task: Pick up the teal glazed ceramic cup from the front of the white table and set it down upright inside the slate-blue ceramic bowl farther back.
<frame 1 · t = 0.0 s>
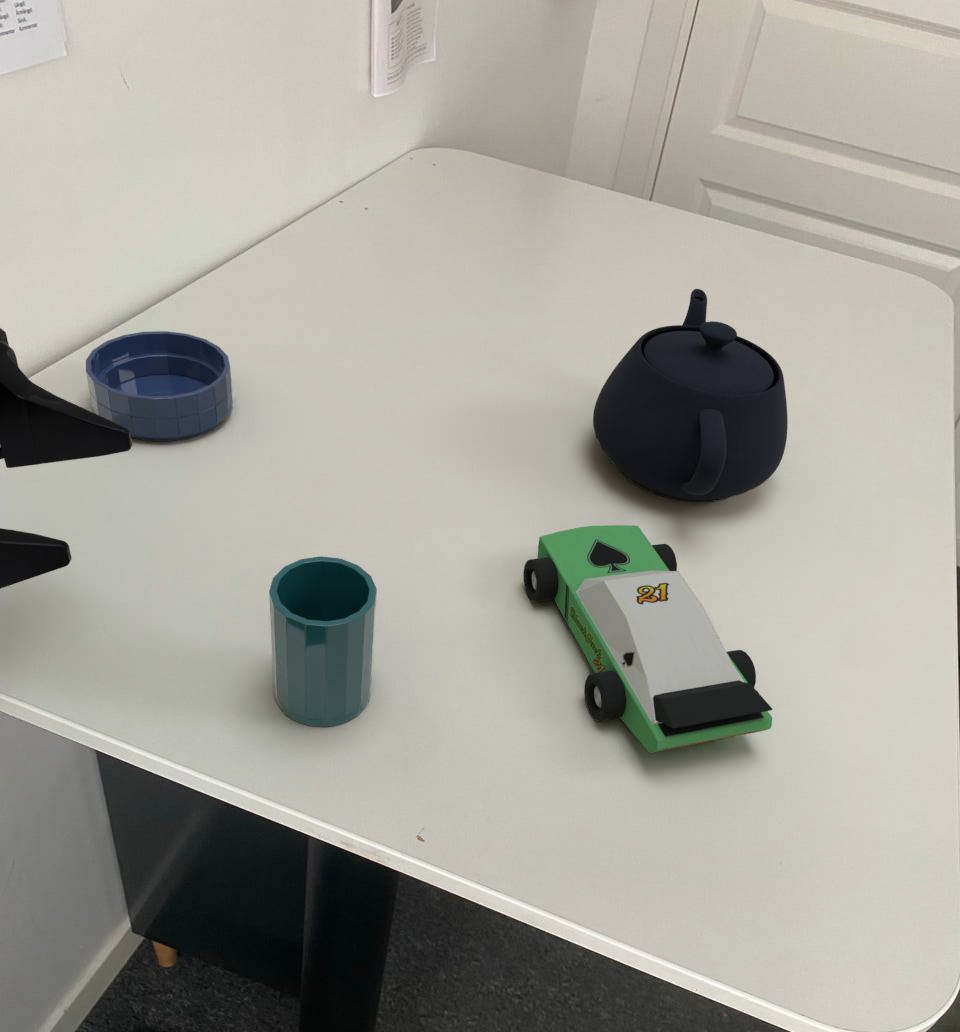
hand: (102, 492, 44), 14 cm above the table, tool horizontal, fingers open, 9 cm apart
teapot: (675, 461, 79), on the table
toy car: (633, 653, 62), on the table
cup: (322, 691, 56), on the table
bowl: (164, 408, 76), on the table
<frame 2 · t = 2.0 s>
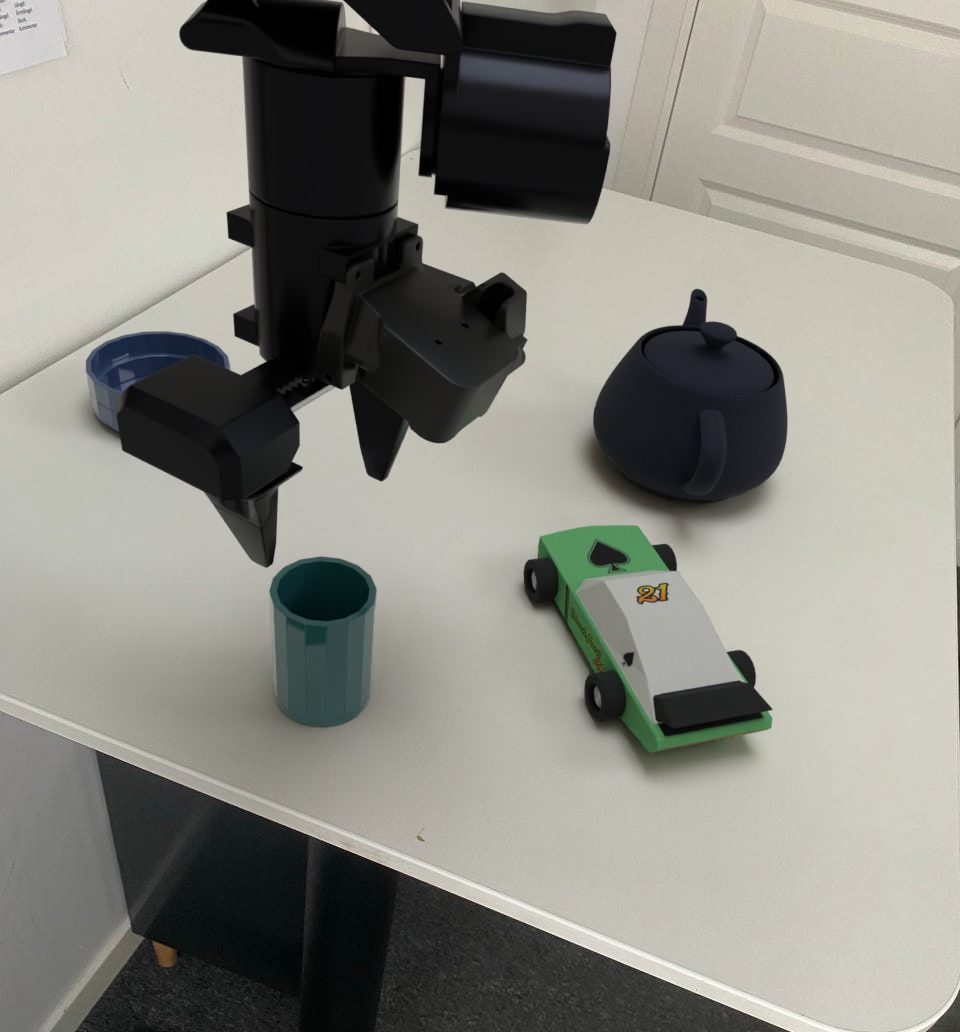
hand: (323, 517, 47), 13 cm above the table, tool pointing down, fingers open, 9 cm apart
nothing on the table moved.
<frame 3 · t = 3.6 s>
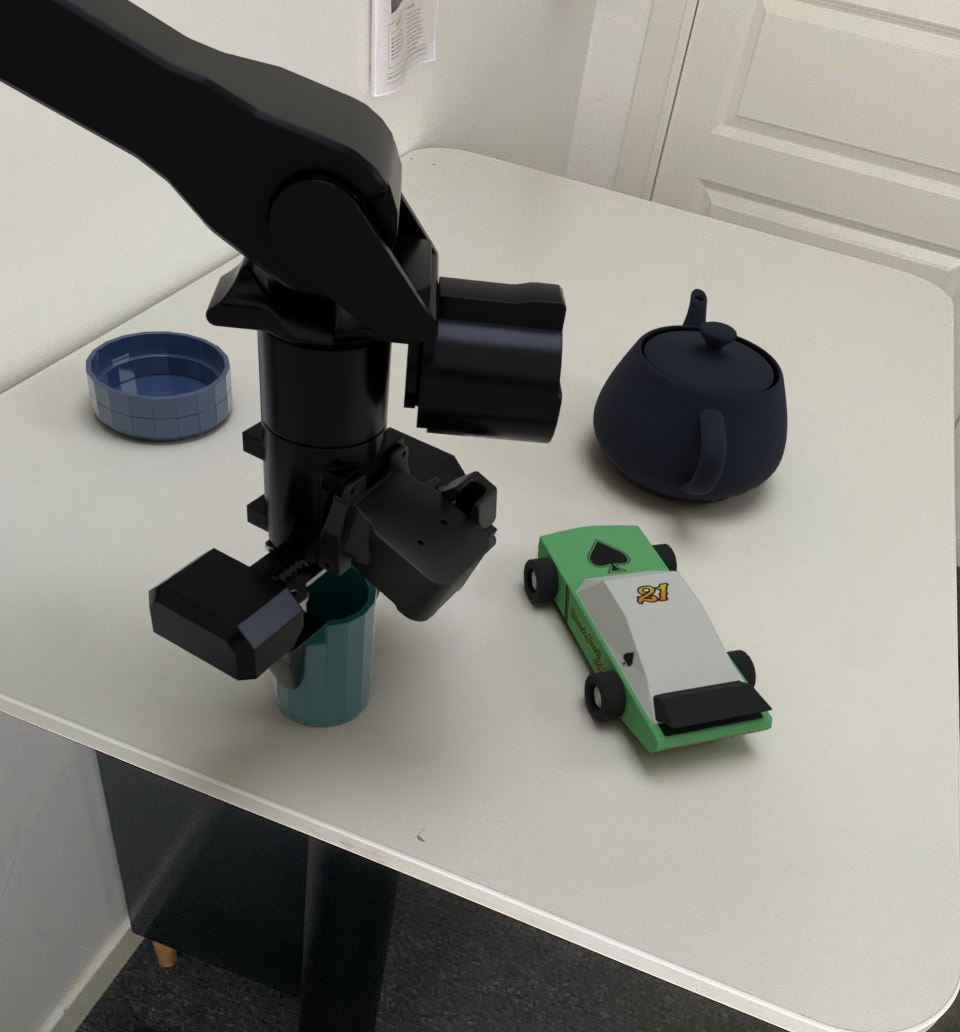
hand: (322, 655, 54), 3 cm above the table, tool pointing down, fingers closed on cup, 6 cm apart
cup: (322, 691, 56), on the table, touching gripper
everything else where it was.
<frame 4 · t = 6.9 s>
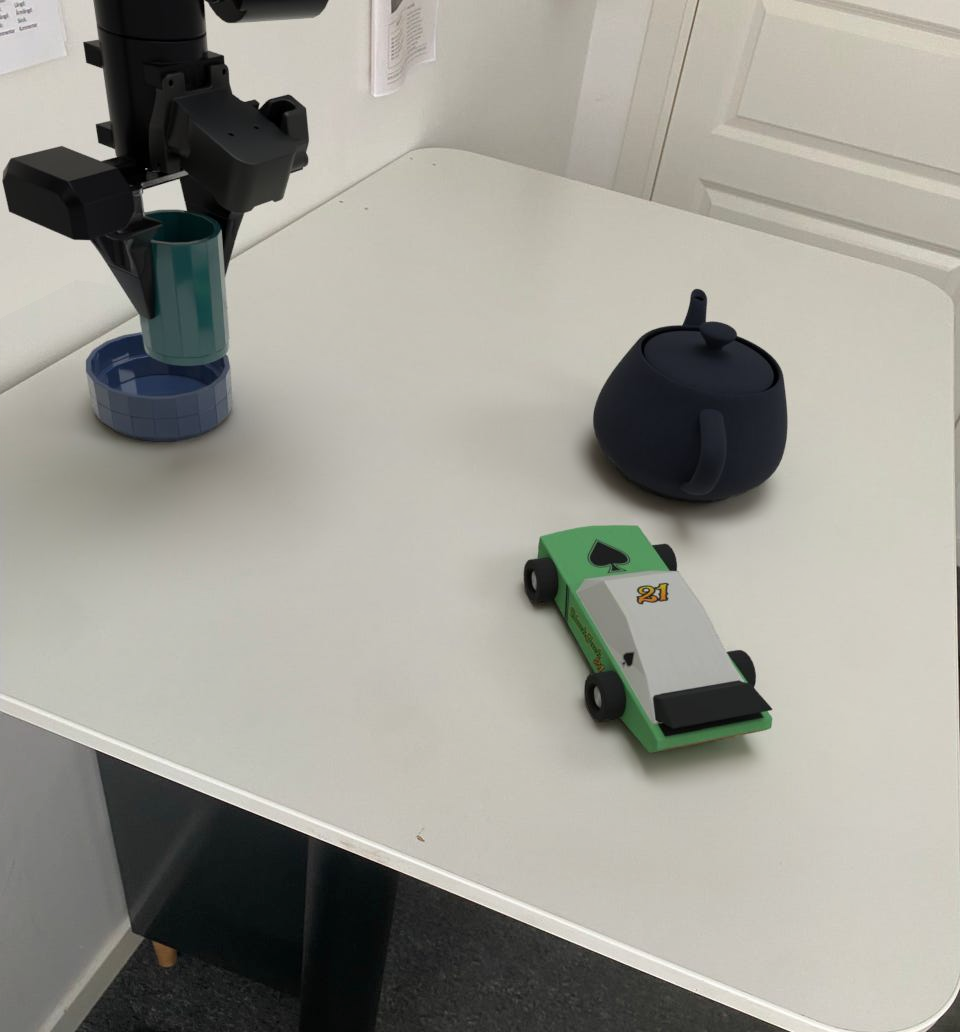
hand: (181, 302, 62), 13 cm above the table, tool pointing down, fingers closed on cup, 6 cm apart
cup: (186, 345, 64), point 10 cm above the table, touching gripper
everything else where it was.
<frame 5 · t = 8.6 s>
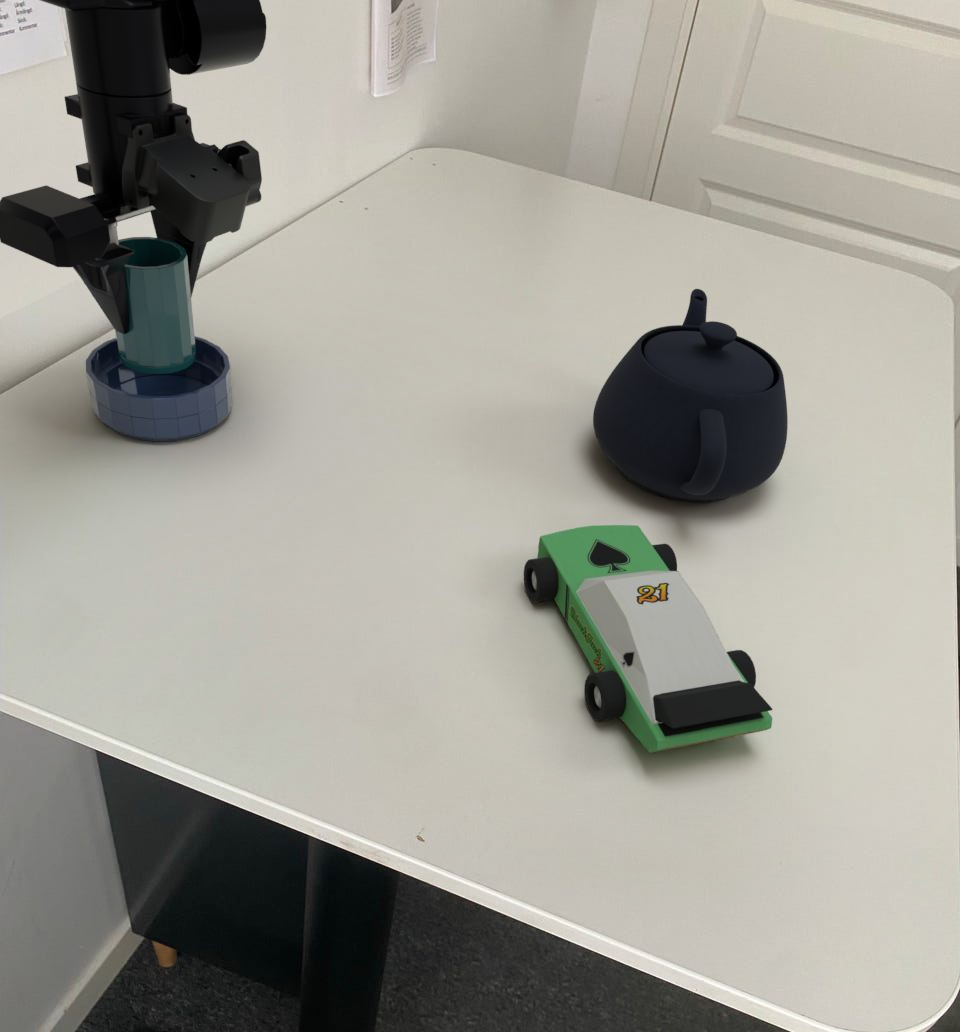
hand: (152, 318, 70), 8 cm above the table, tool pointing down, fingers closed on cup, 6 cm apart
cup: (158, 356, 72), point 5 cm above the table, touching gripper
everything else where it was.
when the fingers open (4 cm above the table, at t = 10.4 s): cup stays where it is, resting on bowl.
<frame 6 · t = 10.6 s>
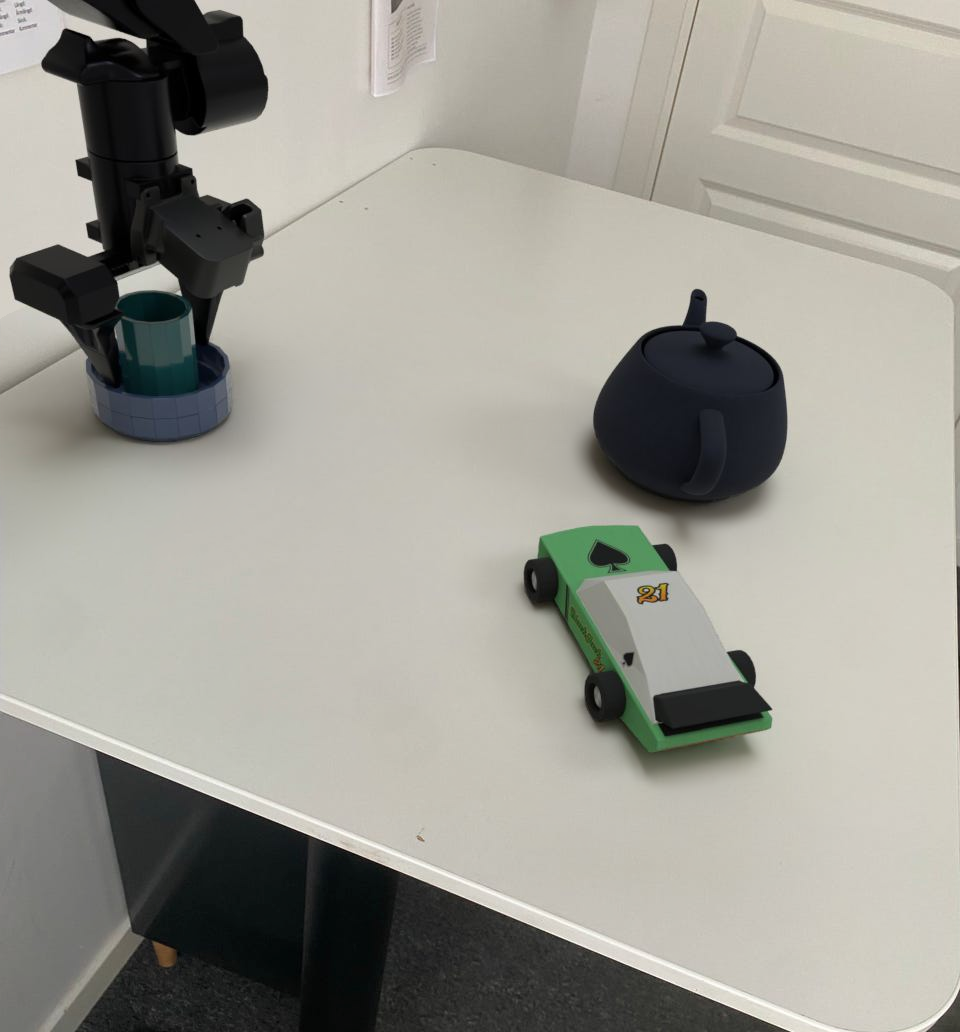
hand: (159, 364, 73), 4 cm above the table, tool pointing down, fingers open, 9 cm apart
cup: (163, 402, 75), point 1 cm above the table, touching bowl
everything else where it was.
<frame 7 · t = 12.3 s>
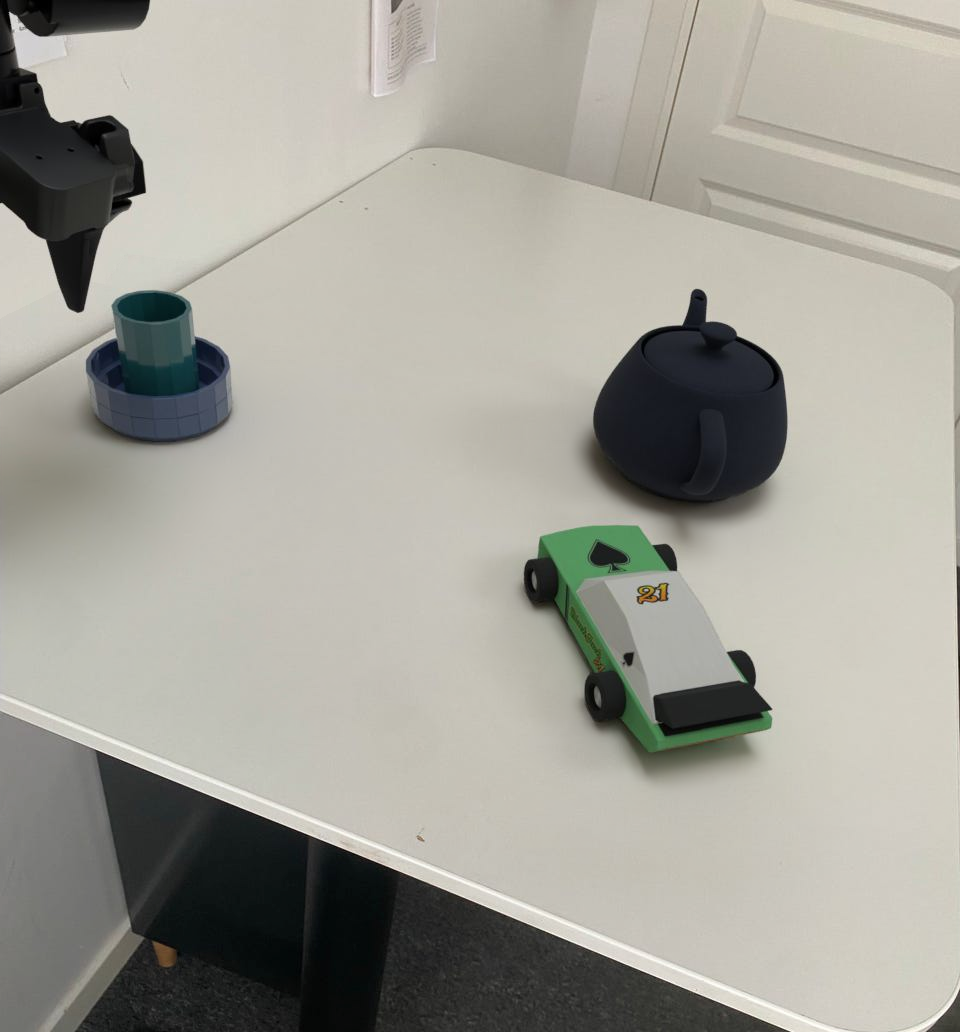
hand: (16, 333, 58), 12 cm above the table, tool pointing down, fingers open, 9 cm apart
nothing on the table moved.
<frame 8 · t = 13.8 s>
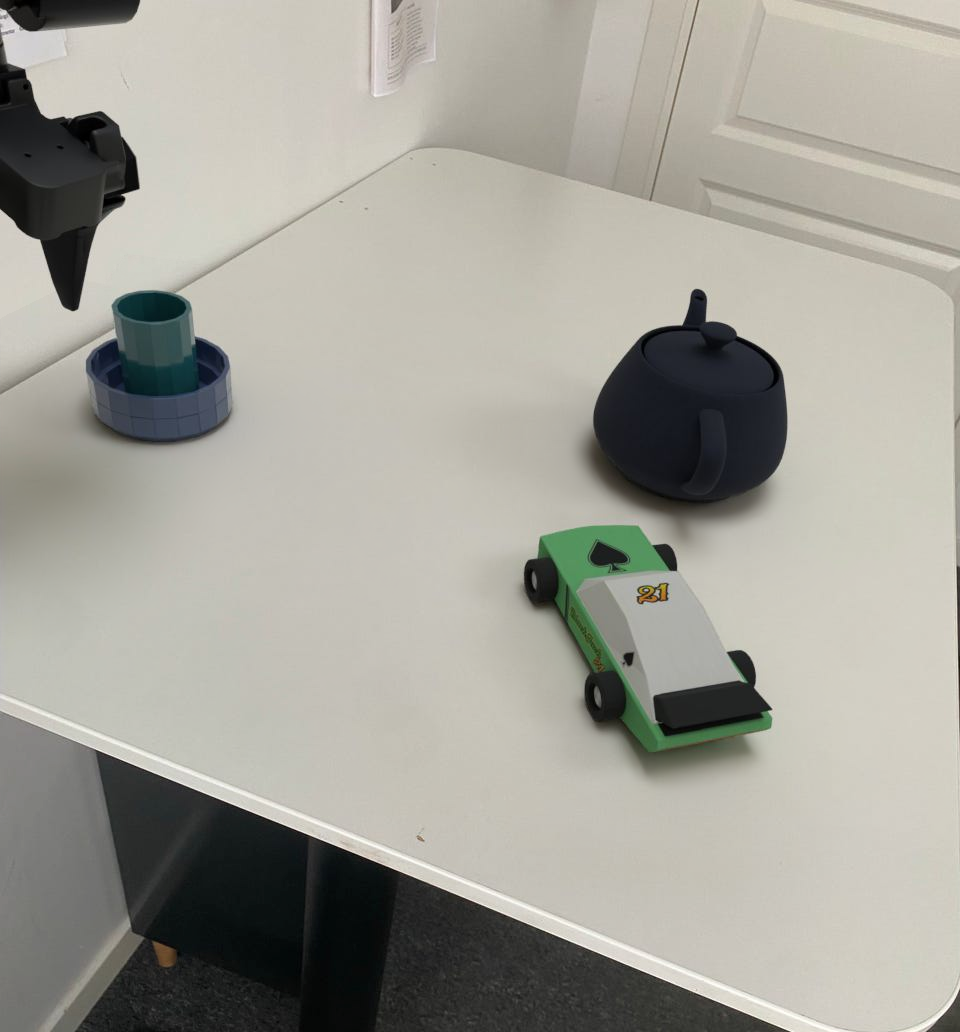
hand: (10, 332, 58), 12 cm above the table, tool pointing down, fingers open, 9 cm apart
nothing on the table moved.
at the end: cup 0.1 cm off-centre in the bowl, point 0.6 cm above the bowl's base; cup tilted 0°; the gripper is holding nothing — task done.
